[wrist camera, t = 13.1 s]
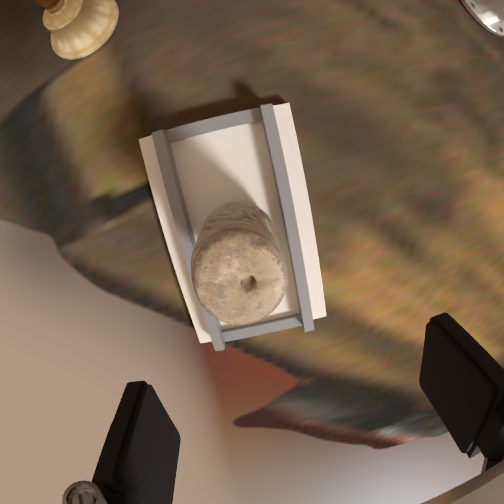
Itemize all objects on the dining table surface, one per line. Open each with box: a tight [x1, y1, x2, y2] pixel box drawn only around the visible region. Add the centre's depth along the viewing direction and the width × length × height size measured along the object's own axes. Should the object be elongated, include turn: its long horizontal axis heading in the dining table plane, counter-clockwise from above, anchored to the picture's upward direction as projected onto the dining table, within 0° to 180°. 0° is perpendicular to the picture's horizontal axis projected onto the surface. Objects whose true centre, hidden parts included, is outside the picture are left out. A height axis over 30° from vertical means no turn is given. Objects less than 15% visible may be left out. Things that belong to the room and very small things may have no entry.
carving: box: [191, 201, 288, 325], centre depth 24 cm, size 6×8×12 cm
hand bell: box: [34, 0, 119, 60], centre depth 15 cm, size 8×8×16 cm
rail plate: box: [139, 103, 326, 351], centre depth 29 cm, size 22×14×3 cm, turn 12°
